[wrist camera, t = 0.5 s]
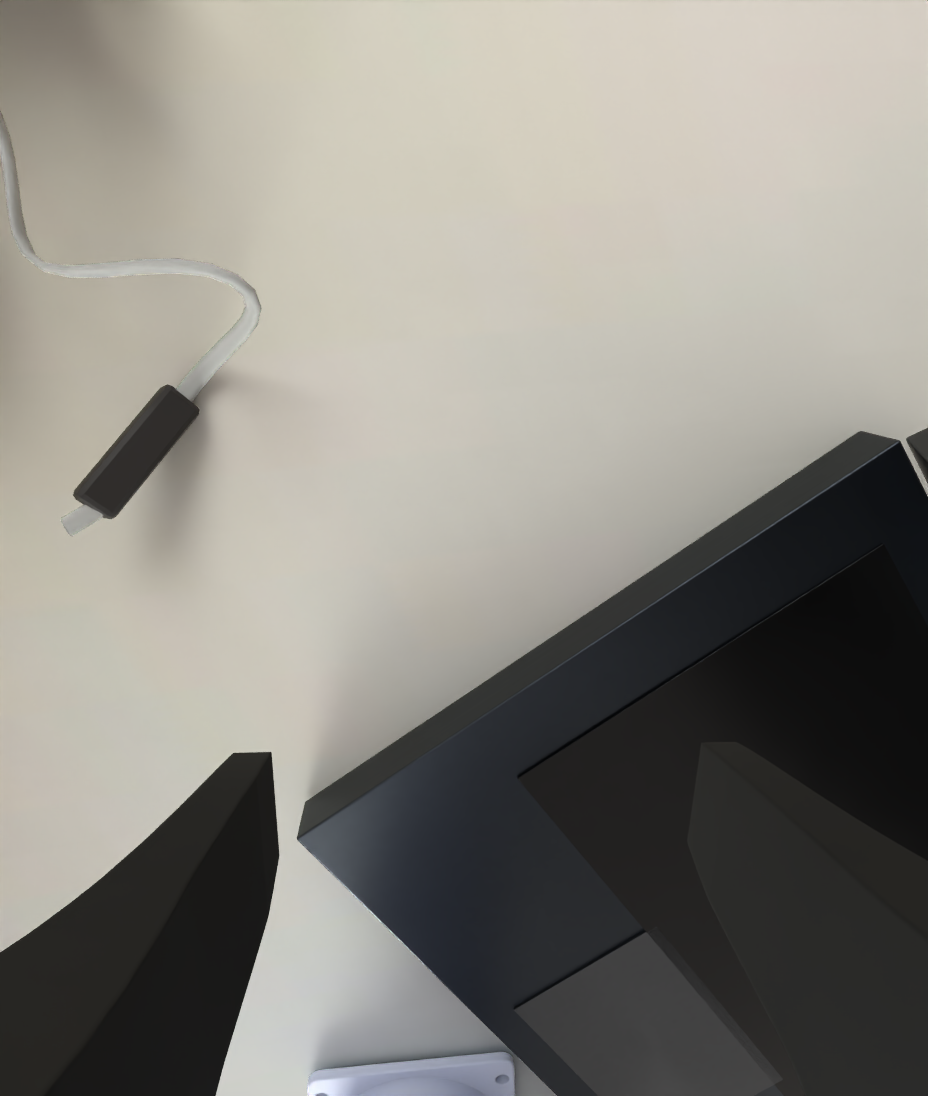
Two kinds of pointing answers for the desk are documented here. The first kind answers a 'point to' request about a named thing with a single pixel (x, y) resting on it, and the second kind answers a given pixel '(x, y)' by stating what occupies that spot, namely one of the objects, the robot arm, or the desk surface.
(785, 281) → the desk surface
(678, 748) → the laptop
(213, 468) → the desk surface
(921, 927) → the robot arm
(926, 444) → the laptop screen
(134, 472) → the clip-on lamp
